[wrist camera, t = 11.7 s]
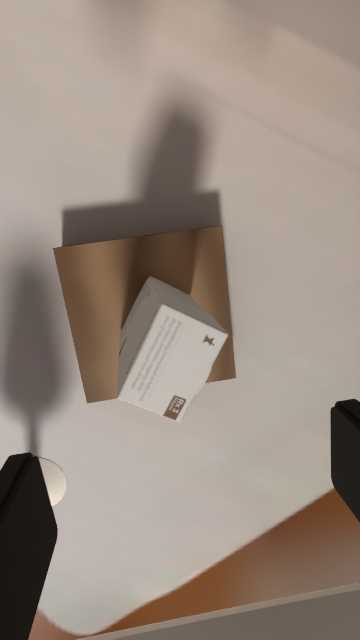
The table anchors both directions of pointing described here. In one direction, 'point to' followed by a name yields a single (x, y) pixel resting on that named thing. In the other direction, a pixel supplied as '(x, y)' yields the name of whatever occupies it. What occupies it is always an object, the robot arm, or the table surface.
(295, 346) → the table surface
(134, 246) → the walnut base
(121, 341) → the skincare box
